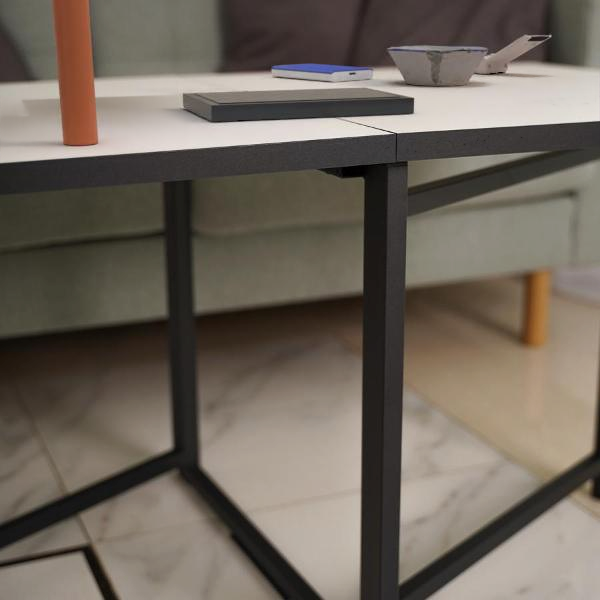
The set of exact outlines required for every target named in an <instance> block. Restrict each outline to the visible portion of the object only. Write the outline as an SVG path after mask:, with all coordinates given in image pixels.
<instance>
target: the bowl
mask: <svg viewBox="0 0 600 600" xmlns="http://www.w3.org/2000/svg"><path fill="white" fill-rule="evenodd" d="M489 50H490V48H488V47H486V46H478V45H475V46H473V45H472V46H467V45H465V46H464V45H455V46H453V45H426V44H425V45H424V44H423V45H404V46H390V47H388V48H386V51H387V52H388V54H389V56H390V57H391V59H392V60H393V62H394V64H395V65H396V67H397V69H398V72H399V73H400V75H401V76H402V78H403V80H404V82H405V83H406V84H407V85H413V86H423V87H425V86H427V87H452V86H453V87H454V86H455V87H456V86H465V85H467V84H468V83H469V81H471V78H472V77H473V76H474V74H475V73H474V72H475V71H476V69H477V68H478V66H479V65H480V63H481V61H482V59H483V58H484V56H485V55H486V54H487V53H488V52H489Z"/></svg>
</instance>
